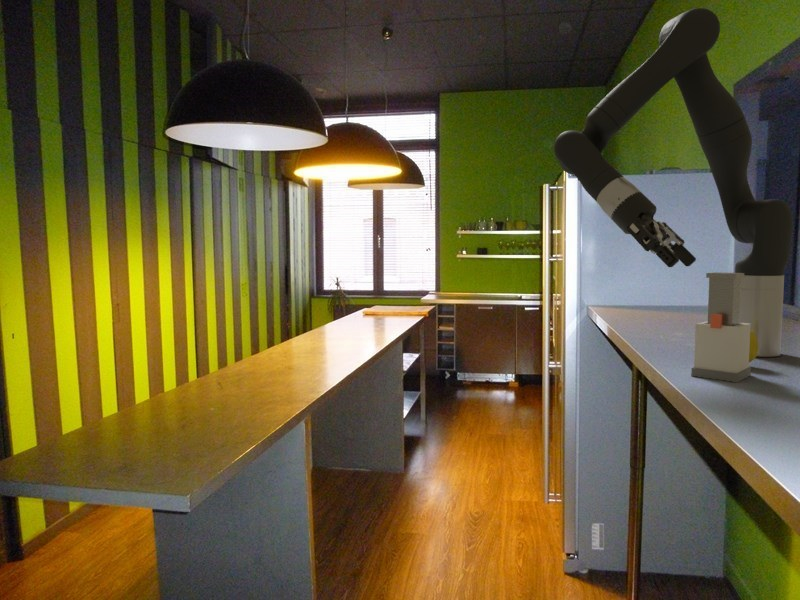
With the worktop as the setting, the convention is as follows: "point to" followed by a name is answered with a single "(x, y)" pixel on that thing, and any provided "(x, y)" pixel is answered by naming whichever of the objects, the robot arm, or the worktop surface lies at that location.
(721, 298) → the column
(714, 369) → the stand
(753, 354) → the lemon
